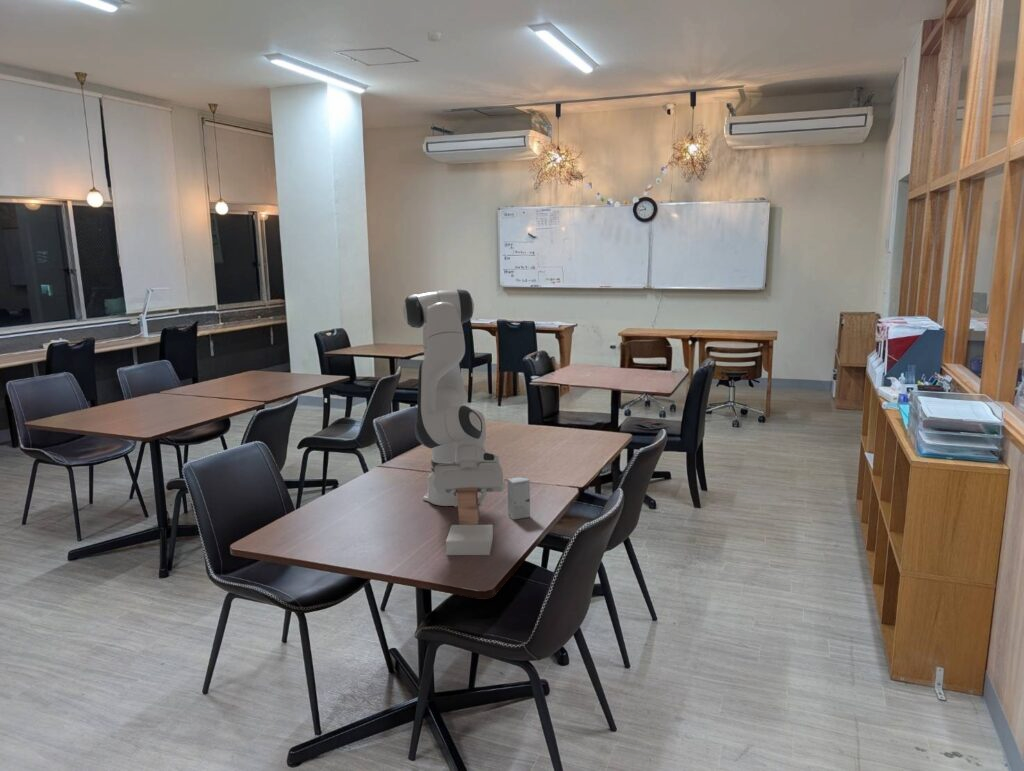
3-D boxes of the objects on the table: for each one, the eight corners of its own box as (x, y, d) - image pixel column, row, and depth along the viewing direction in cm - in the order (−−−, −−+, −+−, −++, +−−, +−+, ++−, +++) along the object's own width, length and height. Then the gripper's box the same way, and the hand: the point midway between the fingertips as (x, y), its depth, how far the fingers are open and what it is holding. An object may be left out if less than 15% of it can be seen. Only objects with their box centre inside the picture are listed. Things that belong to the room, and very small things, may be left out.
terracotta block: (462, 518, 199) (459, 488, 197) (479, 517, 199) (477, 487, 197) (459, 524, 194) (457, 493, 192) (477, 524, 194) (474, 493, 192)
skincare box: (513, 520, 217) (512, 482, 214) (507, 515, 221) (506, 478, 218) (531, 516, 219) (530, 479, 217) (525, 512, 223) (524, 476, 221)
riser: (452, 537, 204) (451, 524, 203) (493, 537, 204) (492, 524, 203) (446, 555, 192) (445, 541, 192) (489, 554, 192) (489, 541, 191)
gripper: (433, 457, 201) (429, 501, 193) (503, 455, 199) (502, 499, 191) (436, 468, 206) (433, 511, 198) (505, 465, 204) (504, 509, 197)
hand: (468, 505), depth 195 cm, fingers closed on terracotta block, 5 cm apart
